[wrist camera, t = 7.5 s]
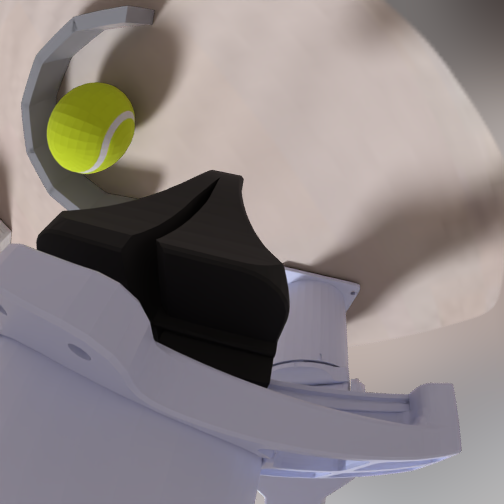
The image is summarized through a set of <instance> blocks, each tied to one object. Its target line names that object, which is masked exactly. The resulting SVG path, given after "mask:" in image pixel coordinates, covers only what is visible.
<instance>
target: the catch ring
mask: <svg viewBox="0 0 504 504" xmlns="http://www.w3.org/2000/svg"><path fill="white" fill-rule="evenodd" d="M153 16H154V10H151V9H146V8H140V7H134V6H122V7H116V8H111V9H105V10H100V11H96V12H91V13H87V14H83V15H79V16H76V17H73V18H72V19H71V20H70V21H69V22H67V23H66V24H65V25H64V26H63V27H62V28H61V29H60V30H59V31H58V32H57V33H56V34H55V35H54V36H53V37H52V38H51V39H50V40H49V41H48V43H47V44H46V45H45V46H44V47H43V48H42V49H41V50H40V51H39V52H38V54H37V55H36V57H35V60H34V62H33V65H32V68H31V71H30V74H29V78H28V81H27V84H26V88H25V91H24V95H23V98H22V102H21V110H22V121H23V131H24V139H25V146H26V152H27V155H28V157H29V159H30V161H31V163H32V164H33V166H34V168H35V170H36V172H37V174H38V176H39V178H40V179H41V181H42V183H43V185H44V187H45V188H46V190H47V192H48V193H49V195H50V196H51V197H53V198H54V199H55V200H56V201H57V202H58V203H60V204H61V205H62V206H63V207H64V208H66V209H67V210H68V211H70V210H81V209H91V208H98V207H105V206H110V205H116V204H120V203H124V202H128V201H133V200H137V199H135V198H130V197H125V196H120V195H114V194H109V193H105V192H104V191H103V190H102V189H100V188H99V187H98V186H96V185H95V184H94V183H93V182H91V181H90V180H89V179H88V178H86V177H85V176H84V175H82V174H81V173H77V172H72V171H70V170H67V169H65V168H64V167H62V166H61V165H60V164H59V163H58V162H57V161H56V160H55V158H54V157H53V155H52V153H51V151H50V149H49V146H48V141H47V126H48V122H49V118H50V116H51V113H52V111H53V109H54V108H55V106H56V104H57V103H56V95H57V92H58V89H59V87H60V84H61V81H62V79H63V76H64V74H65V71H66V69H67V67H68V64H69V62H70V60H71V57H72V56H73V55H75V54H76V53H77V52H78V51H79V50H80V49H81V48H83V47H84V46H85V45H86V44H87V43H88V42H90V41H91V40H92V39H93V38H95V37H96V36H97V35H98V34H100V33H101V32H102V31H104V30H107V29H113V28H121V27H129V26H140V25H152V22H153Z"/></svg>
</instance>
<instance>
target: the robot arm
mask: <svg viewBox="0 0 504 504" xmlns="http://www.w3.org/2000/svg"><path fill="white" fill-rule="evenodd" d="M243 180H244V179H243V177H242V176H240V175H235V174H230V173H225V172H220V171H215V170H210V171H207V172H205V173H203V174H200V175H198V176H196V177H194V178H192V179H190V180H188V181H185V182H183V183H181V184H179V185H176V186H174V187H171V188H169V189H167V190H164V191H162V192H159V193H156V194H153V195H150V196H147V197H144V198H141V199H137V200H133V201H128V202H124V203H120V204H116V205H110V206H105V207H98V208H91V209H81V210H70V211H62V212H61V213H60V214H59V215H58V216H57V217H56V218H55V219H54V220H53V221H52V222H51V223H50V224H49V225H48V226H47V227H46V228H45V229H44V230H43V231H42V232H41V233H40V234H39V235H38V238H37V241H36V243H37V250H36V249H34V248H31V247H28V246H26V245H23V244H9V245H8V246H7V247H6V248H5V249H4V250H3V251H2V252H1V253H0V504H254V503H255V498H256V493H257V491H258V492H259V493H261V494H262V495H263V496H264V497H265V504H325V498H326V497H327V496H328V495H330V494H331V493H333V492H335V491H336V490H338V489H339V488H341V487H342V486H344V485H345V484H347V483H348V482H350V481H351V480H353V479H354V478H355V477H362V476H375V475H384V474H393V473H401V472H407V471H413V470H416V469H419V468H422V467H425V466H428V465H431V464H434V463H437V462H439V461H442V460H444V459H447V458H449V457H452V456H454V455H457V454H459V453H460V452H461V451H462V449H461V438H460V437H461V436H460V427H459V419H458V412H457V405H456V399H455V392H454V387H453V384H452V383H426V384H423V385H420V386H419V387H417V388H415V389H414V390H413V391H412V392H411V393H410V394H386V393H371V392H365V385H364V384H363V383H361V382H359V379H357V378H356V379H351V391H350V380H349V370H348V345H347V326H346V312H347V310H348V309H349V307H350V305H351V304H352V302H353V301H354V299H355V297H356V296H357V294H358V292H359V291H360V285H359V284H357V283H353V282H349V281H344V280H340V279H336V278H331V277H327V276H323V275H318V274H314V273H310V272H305V271H301V270H297V269H292V268H288V267H284V265H283V264H282V263H281V262H280V261H279V260H278V259H277V258H276V257H275V256H274V255H273V254H272V253H271V252H270V251H269V250H268V249H267V248H266V247H265V246H264V245H263V243H262V242H261V241H260V239H259V238H258V236H257V235H256V233H255V231H254V229H253V228H252V226H251V224H250V221H249V219H248V217H247V214H246V211H245V207H244V204H243V199H242V186H243ZM352 291H354V292H352Z"/></svg>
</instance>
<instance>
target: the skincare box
mask: <svg viewBox="0 0 504 504" xmlns="http://www.w3.org/2000/svg"><path fill="white" fill-rule="evenodd" d="M9 244H11V230H10V229H9V228H8V227H7V226H6V225H5V224H4V223H3V222H2V221H1V220H0V253H1V252H2V251H3V250H4V249H5V248H6V247H7V246H8V245H9Z"/></svg>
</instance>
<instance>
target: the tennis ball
mask: <svg viewBox="0 0 504 504" xmlns="http://www.w3.org/2000/svg"><path fill="white" fill-rule="evenodd" d="M134 130H135V114H134V110H133V107H132V105H131V102H130V101H129V99H128V98H127V97H126V95H125V94H124V93H123V92H121V91H120V90H119V89H118V88H116V87H114V86H112V85H110V84H105V83H99V82H96V83H87V84H84V85H81V86H78V87H76V88H74V89H72V90H71V91H70V92H68V93H67V94H66V95H64V96H63V97H62V98H61V99H60V100H59V102H58V103H57V104H56V106H55V108H54V109H53V111H52V113H51V116H50V118H49V122H48V126H47V141H48V146H49V149H50V151H51V153H52V155H53V157H54V158H55V160H56V161H57V162H58V163H59V164H60V165H61V166H62V167H64V168H65V169H67V170H70V171H72V172H77V173H82V174H90V173H96V172H99V171H102V170H105V169H106V168H108V167H110V166H111V165H113V164H114V163H116V162H117V161H118V160H119V159H120V158H121V157H122V156H123V154H124V153H125V152H126V150H127V148H128V147H129V145H130V143H131V141H132V138H133V135H134Z"/></svg>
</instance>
